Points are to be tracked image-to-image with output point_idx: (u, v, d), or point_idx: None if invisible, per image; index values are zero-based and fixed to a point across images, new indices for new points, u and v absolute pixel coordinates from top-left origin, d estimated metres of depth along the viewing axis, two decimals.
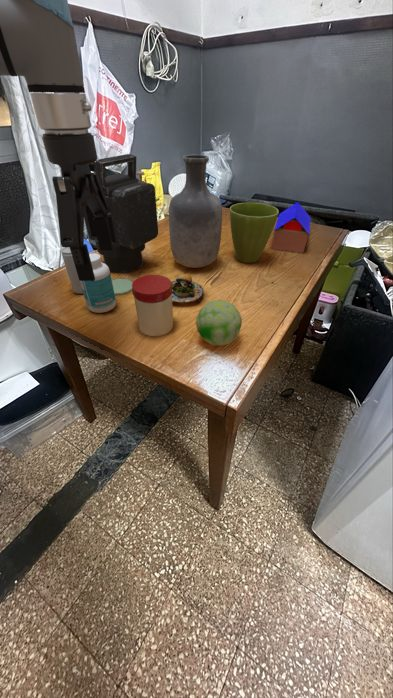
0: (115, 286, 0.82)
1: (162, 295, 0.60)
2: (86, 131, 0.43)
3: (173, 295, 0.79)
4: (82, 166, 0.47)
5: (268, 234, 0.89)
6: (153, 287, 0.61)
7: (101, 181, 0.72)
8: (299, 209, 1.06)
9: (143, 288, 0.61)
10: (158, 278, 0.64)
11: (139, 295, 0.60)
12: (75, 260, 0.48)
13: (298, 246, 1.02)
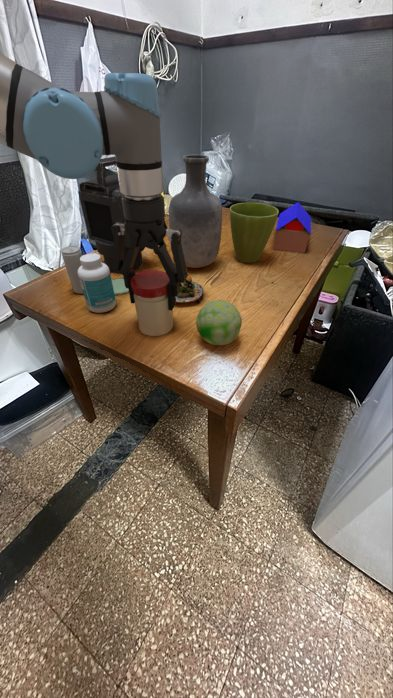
0: (115, 286, 0.82)
1: None
2: None
3: None
4: None
5: (268, 234, 0.89)
6: (158, 280, 0.61)
7: (101, 181, 0.72)
8: (300, 209, 1.06)
9: (153, 284, 0.60)
10: (145, 273, 0.63)
11: (158, 291, 0.59)
12: (177, 291, 0.61)
13: (299, 246, 1.02)
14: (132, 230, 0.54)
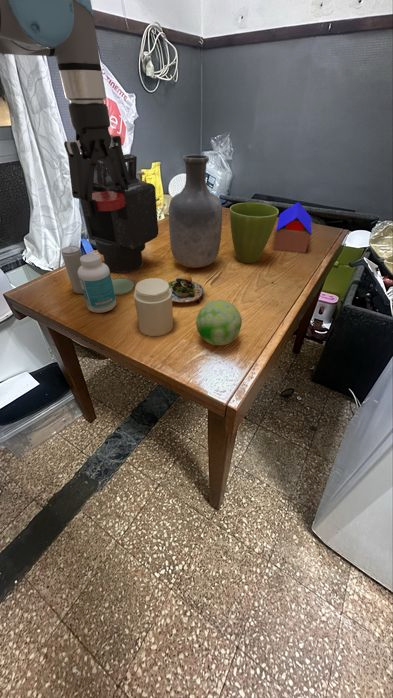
0: (115, 286, 0.82)
1: None
2: None
3: (173, 295, 0.79)
4: None
5: (268, 234, 0.89)
6: (110, 194, 0.67)
7: (101, 181, 0.72)
8: (300, 209, 1.06)
9: (116, 195, 0.66)
10: (92, 196, 0.65)
11: (124, 198, 0.67)
12: (125, 198, 0.71)
13: (300, 246, 1.02)
14: (89, 142, 0.57)
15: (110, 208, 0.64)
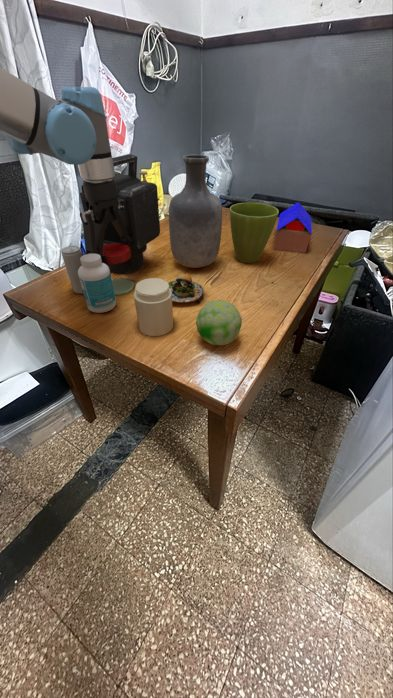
0: (115, 286, 0.82)
1: None
2: None
3: (173, 295, 0.79)
4: None
5: (268, 234, 0.89)
6: (117, 247, 0.77)
7: None
8: (300, 209, 1.06)
9: (122, 249, 0.76)
10: None
11: None
12: (130, 248, 0.81)
13: (300, 246, 1.02)
14: (101, 211, 0.67)
15: (118, 261, 0.74)
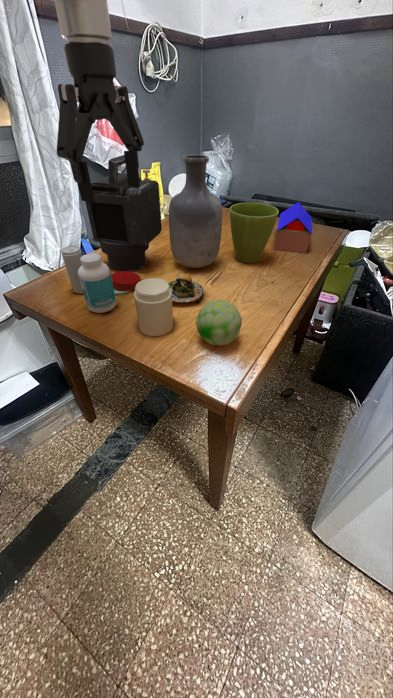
0: None
1: None
2: None
3: (173, 295, 0.79)
4: None
5: (268, 234, 0.89)
6: (129, 275, 0.84)
7: (114, 181, 0.73)
8: (300, 209, 1.06)
9: (134, 278, 0.83)
10: (115, 277, 0.82)
11: (140, 280, 0.84)
12: (137, 162, 0.61)
13: (301, 246, 1.02)
14: (91, 95, 0.47)
15: (128, 289, 0.80)
